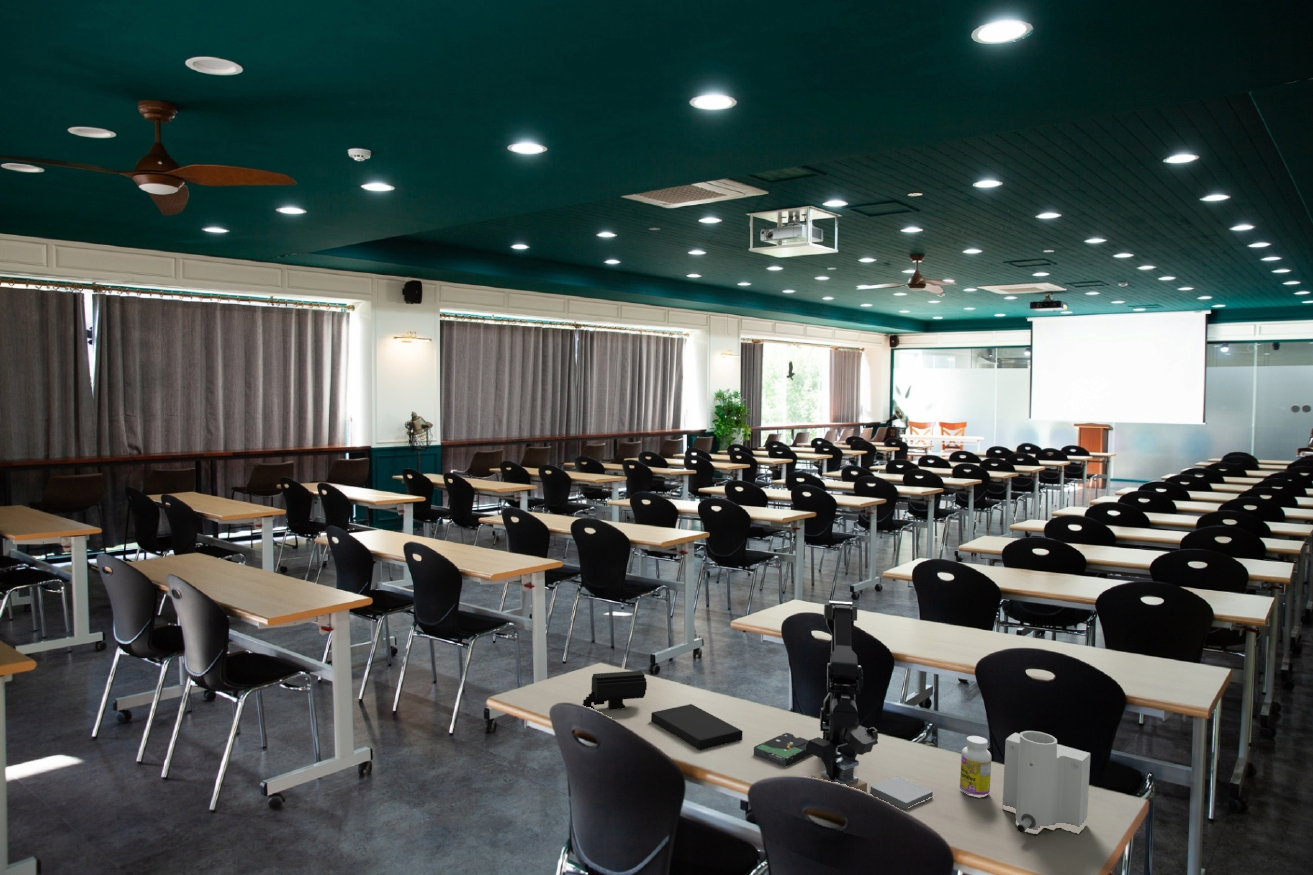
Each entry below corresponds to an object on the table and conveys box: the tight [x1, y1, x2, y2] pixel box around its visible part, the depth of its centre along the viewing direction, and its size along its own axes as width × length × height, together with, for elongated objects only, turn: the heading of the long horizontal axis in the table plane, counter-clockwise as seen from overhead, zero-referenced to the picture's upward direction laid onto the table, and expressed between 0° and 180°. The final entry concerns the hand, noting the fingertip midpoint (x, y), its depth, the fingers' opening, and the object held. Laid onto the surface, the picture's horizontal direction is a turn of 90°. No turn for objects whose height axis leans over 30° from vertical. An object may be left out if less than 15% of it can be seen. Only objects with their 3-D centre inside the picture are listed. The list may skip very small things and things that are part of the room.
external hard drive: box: [650, 703, 744, 751], centre depth 235 cm, size 14×23×3 cm, turn 34°
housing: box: [820, 752, 860, 786], centre depth 202 cm, size 7×5×5 cm
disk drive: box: [753, 732, 813, 768], centre depth 221 cm, size 10×3×15 cm
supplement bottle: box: [959, 735, 992, 795], centre depth 201 cm, size 7×7×13 cm
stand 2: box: [869, 775, 934, 810], centre depth 199 cm, size 10×10×2 cm
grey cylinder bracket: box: [1002, 730, 1091, 834], centre depth 185 cm, size 16×19×20 cm
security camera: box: [582, 670, 648, 711], centre depth 250 cm, size 7×18×10 cm, turn 107°
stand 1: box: [811, 772, 868, 792], centre depth 202 cm, size 10×8×2 cm
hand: (839, 777), depth 202 cm, fingers closed on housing, 5 cm apart
